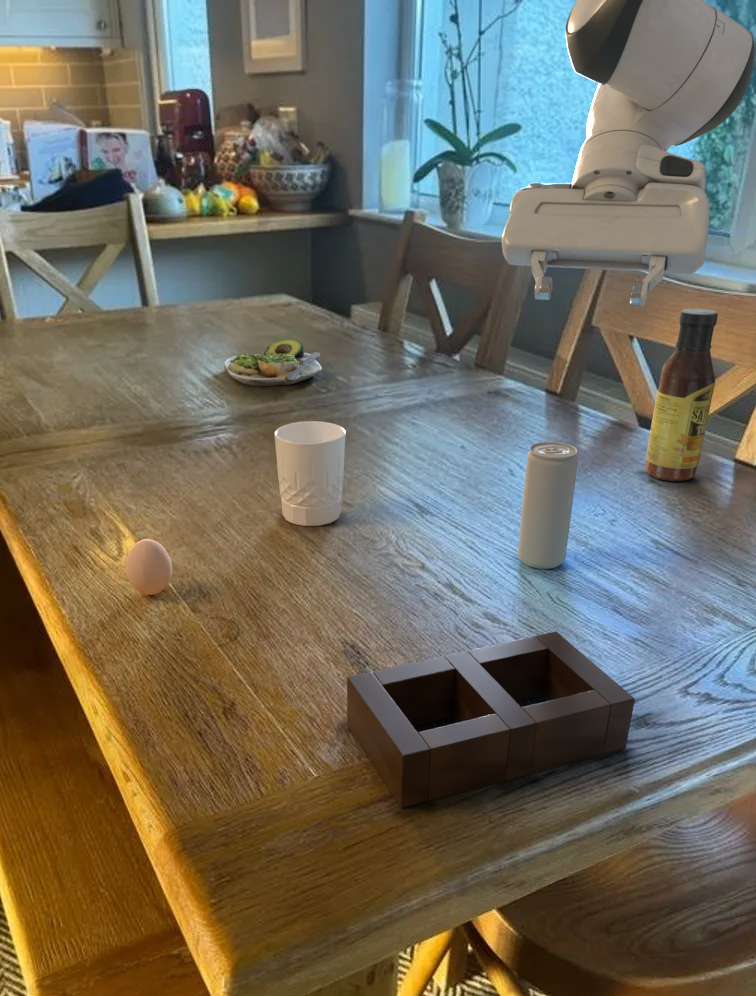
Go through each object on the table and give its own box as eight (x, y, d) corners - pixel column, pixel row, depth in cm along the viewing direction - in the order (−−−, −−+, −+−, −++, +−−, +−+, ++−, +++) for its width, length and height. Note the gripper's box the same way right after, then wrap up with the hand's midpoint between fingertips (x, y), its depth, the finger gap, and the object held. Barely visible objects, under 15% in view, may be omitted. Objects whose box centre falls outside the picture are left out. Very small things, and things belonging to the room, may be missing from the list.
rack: (550, 677, 74) (556, 631, 72) (626, 749, 66) (635, 698, 64) (346, 725, 69) (346, 676, 67) (401, 808, 61) (403, 756, 59)
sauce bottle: (689, 487, 109) (722, 319, 100) (637, 478, 113) (664, 314, 103) (701, 470, 114) (734, 308, 105) (651, 462, 117) (678, 304, 108)
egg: (180, 584, 90) (175, 532, 88) (165, 605, 87) (159, 552, 84) (139, 580, 91) (132, 529, 89) (121, 601, 88) (114, 548, 85)
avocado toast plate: (338, 386, 152) (338, 359, 149) (232, 394, 149) (231, 366, 147) (316, 358, 168) (316, 333, 166) (221, 365, 166) (219, 339, 164)
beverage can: (572, 568, 91) (587, 455, 86) (527, 573, 91) (539, 459, 85) (553, 548, 96) (566, 439, 90) (510, 552, 95) (520, 443, 89)
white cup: (286, 500, 109) (283, 419, 104) (350, 504, 107) (350, 422, 103) (270, 526, 102) (266, 441, 97) (339, 531, 101) (338, 445, 96)
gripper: (513, 162, 95) (483, 274, 92) (722, 164, 88) (697, 285, 85) (518, 204, 101) (490, 310, 98) (715, 208, 94) (691, 324, 91)
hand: (588, 299), depth 92 cm, fingers open, 8 cm apart
